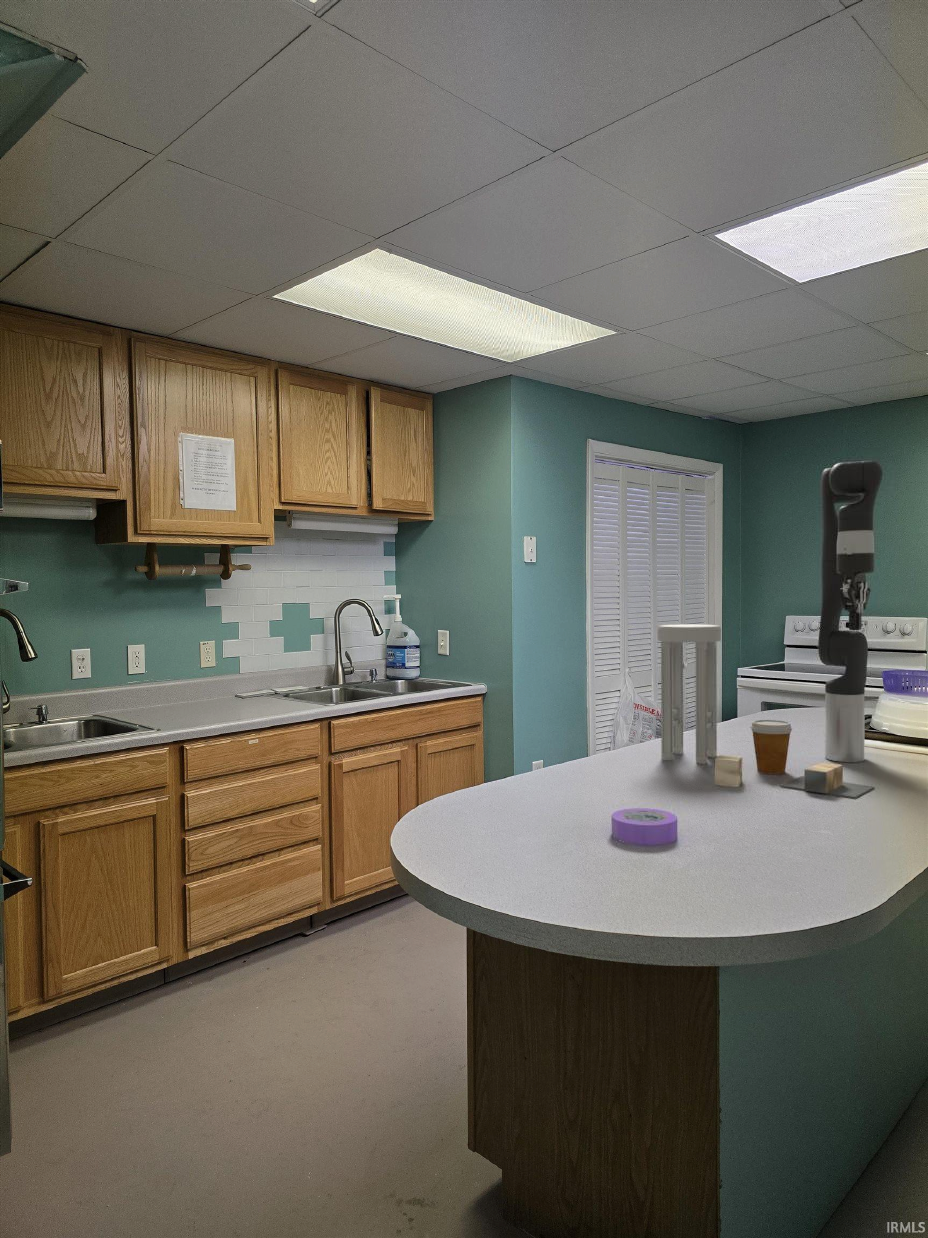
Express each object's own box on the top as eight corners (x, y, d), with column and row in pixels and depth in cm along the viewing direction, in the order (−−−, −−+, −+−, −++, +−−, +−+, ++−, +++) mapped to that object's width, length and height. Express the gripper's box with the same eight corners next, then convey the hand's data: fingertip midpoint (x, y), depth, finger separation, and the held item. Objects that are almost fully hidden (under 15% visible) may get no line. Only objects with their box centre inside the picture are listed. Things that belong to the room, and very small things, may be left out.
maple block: (719, 780, 190) (719, 754, 190) (742, 782, 188) (742, 756, 188) (715, 785, 186) (715, 758, 186) (738, 787, 183) (738, 760, 183)
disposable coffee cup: (785, 767, 203) (785, 719, 202) (797, 776, 193) (797, 725, 193) (746, 767, 204) (746, 719, 203) (756, 775, 194) (755, 725, 194)
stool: (726, 755, 218) (726, 624, 217) (710, 766, 205) (710, 627, 204) (669, 750, 226) (669, 624, 225) (651, 760, 213) (650, 626, 212)
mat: (801, 777, 192) (801, 775, 192) (874, 788, 180) (874, 786, 180) (780, 786, 183) (780, 785, 183) (855, 798, 172) (855, 796, 172)
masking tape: (599, 831, 152) (599, 811, 152) (653, 824, 156) (653, 804, 156) (634, 850, 141) (634, 828, 141) (690, 842, 145) (690, 820, 145)
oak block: (804, 789, 178) (822, 781, 186) (825, 793, 175) (842, 784, 182) (804, 769, 178) (822, 762, 185) (825, 772, 175) (842, 765, 182)
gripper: (848, 553, 188) (848, 628, 189) (826, 552, 179) (826, 631, 180) (883, 552, 183) (883, 629, 184) (862, 550, 174) (862, 631, 174)
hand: (855, 630), depth 182 cm, fingers closed
